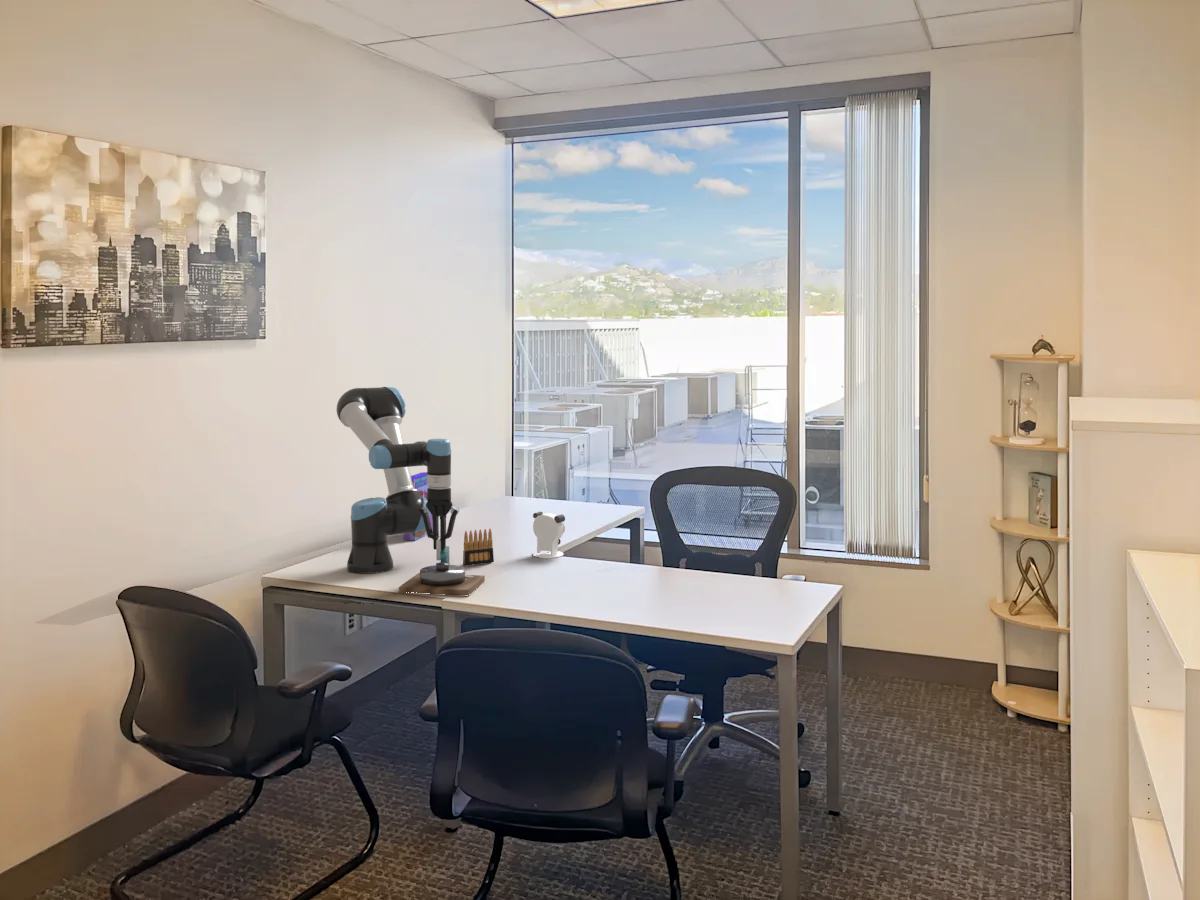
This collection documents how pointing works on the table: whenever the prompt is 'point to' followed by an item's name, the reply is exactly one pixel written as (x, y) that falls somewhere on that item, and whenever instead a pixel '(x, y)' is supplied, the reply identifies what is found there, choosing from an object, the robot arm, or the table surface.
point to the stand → (443, 586)
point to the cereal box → (421, 486)
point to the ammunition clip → (478, 548)
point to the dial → (442, 572)
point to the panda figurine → (548, 533)
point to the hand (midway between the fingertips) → (439, 559)
